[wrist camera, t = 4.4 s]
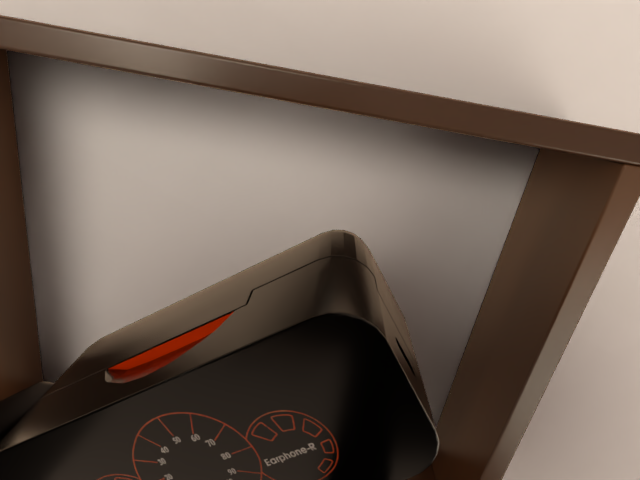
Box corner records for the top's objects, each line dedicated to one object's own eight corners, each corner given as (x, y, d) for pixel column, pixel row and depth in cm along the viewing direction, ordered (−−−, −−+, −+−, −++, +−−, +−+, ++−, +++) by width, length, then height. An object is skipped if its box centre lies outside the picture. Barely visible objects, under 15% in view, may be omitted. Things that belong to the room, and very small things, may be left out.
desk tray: (438, 462, 16) (463, 559, 13) (30, 394, 16) (-51, 476, 12) (572, 121, 11) (668, 138, 8) (-19, 12, 11) (-174, -18, 7)
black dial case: (60, 349, 9) (-84, 487, 6) (353, 209, 7) (363, 296, 4) (180, 485, 10) (114, 653, 7) (445, 390, 9) (501, 550, 6)
